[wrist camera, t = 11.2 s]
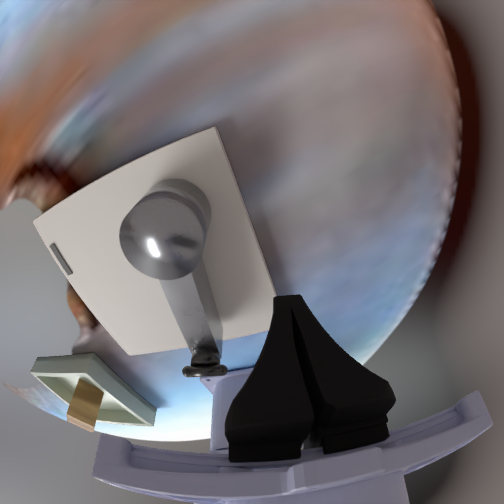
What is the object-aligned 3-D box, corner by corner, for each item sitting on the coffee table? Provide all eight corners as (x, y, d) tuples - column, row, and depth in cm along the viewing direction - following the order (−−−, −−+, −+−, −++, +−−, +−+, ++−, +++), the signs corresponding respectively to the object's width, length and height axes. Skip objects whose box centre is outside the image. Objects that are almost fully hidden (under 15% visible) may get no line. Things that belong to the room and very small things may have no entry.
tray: (94, 352, 26) (86, 372, 23) (156, 409, 33) (153, 426, 30) (37, 357, 27) (30, 372, 25) (94, 406, 35) (90, 420, 32)
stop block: (79, 378, 28) (66, 413, 23) (104, 390, 29) (94, 426, 24) (78, 388, 30) (67, 420, 24) (102, 399, 31) (92, 432, 26)
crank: (134, 186, 15) (96, 223, 11) (203, 172, 15) (185, 205, 10) (187, 332, 22) (178, 383, 17) (239, 328, 21) (238, 381, 17)
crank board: (216, 125, 14) (214, 127, 13) (284, 317, 23) (286, 327, 22) (39, 215, 17) (31, 222, 16) (131, 348, 25) (129, 356, 24)
